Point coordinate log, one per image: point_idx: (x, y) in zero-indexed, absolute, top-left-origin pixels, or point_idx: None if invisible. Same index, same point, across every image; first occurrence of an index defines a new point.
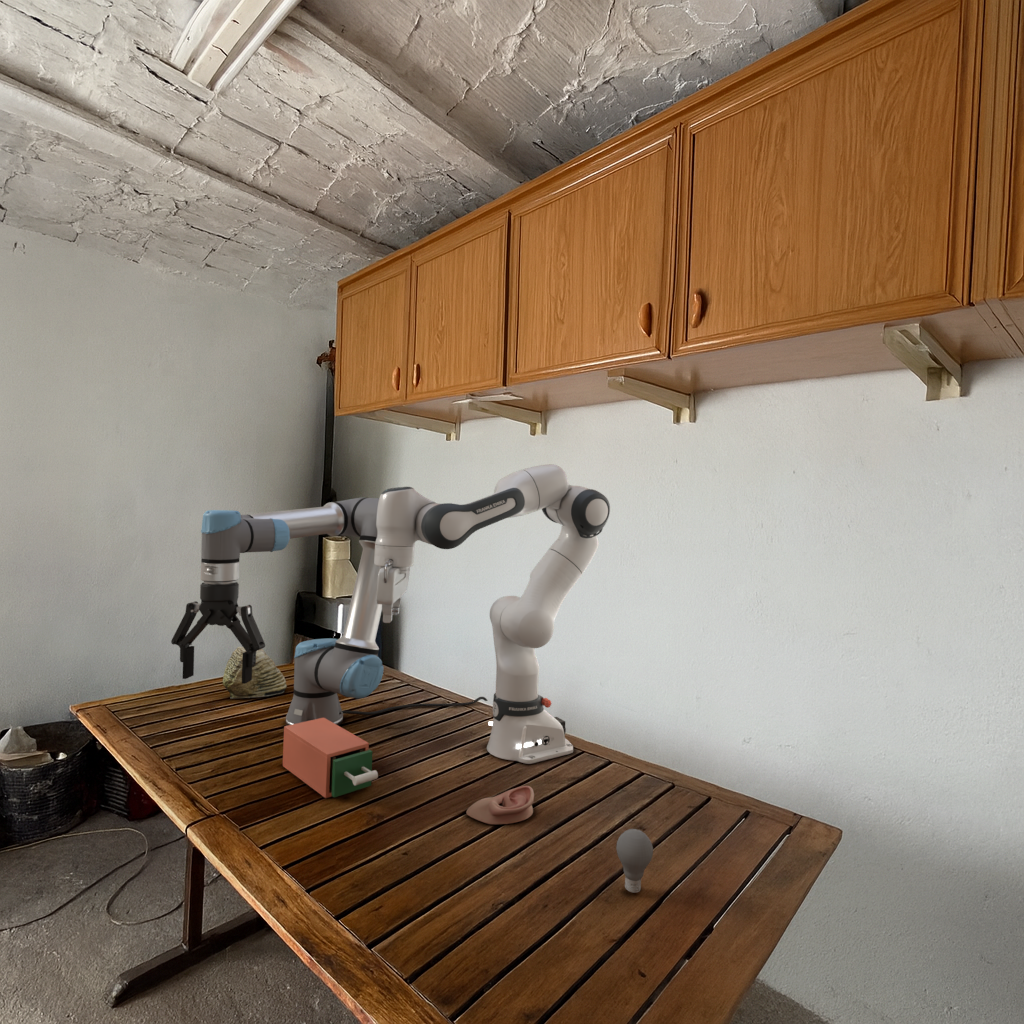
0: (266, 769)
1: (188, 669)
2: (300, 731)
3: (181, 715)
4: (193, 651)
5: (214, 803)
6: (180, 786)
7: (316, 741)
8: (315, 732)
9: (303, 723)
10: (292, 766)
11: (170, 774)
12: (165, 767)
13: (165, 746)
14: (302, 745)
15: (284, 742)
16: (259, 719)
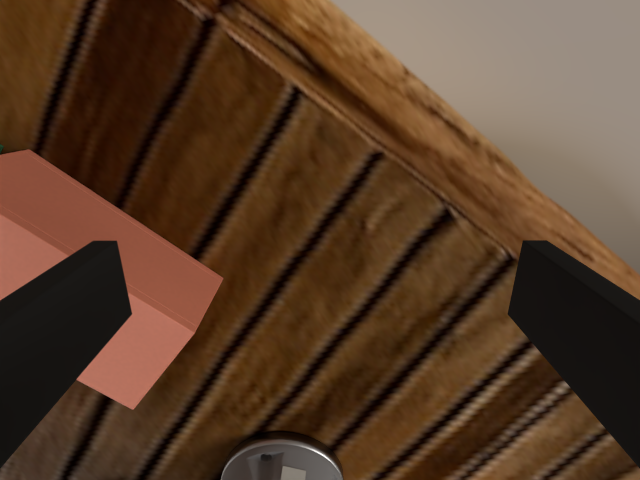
0: (248, 256)
1: (549, 293)
2: None
3: (583, 455)
4: (630, 445)
5: (258, 65)
6: (390, 132)
7: (29, 253)
8: None
9: (156, 362)
10: (174, 255)
11: (449, 186)
12: (481, 217)
13: None
14: None
15: (202, 304)
16: (406, 468)
